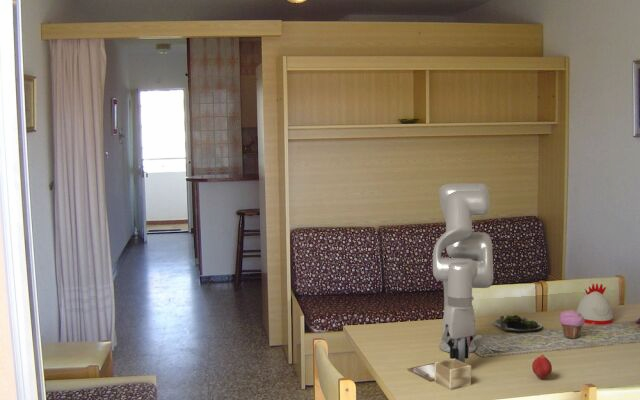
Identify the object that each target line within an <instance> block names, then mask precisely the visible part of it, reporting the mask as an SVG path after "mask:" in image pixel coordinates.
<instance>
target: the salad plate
mask: <svg viewBox="0 0 640 400" xmlns="http://www.w3.org/2000/svg"><path fill="white" fill-rule="evenodd" d="M493 324H494V325H495V326H496V327H497V328H499V329H501V330H502V331H504V332H506V333H511V334H532V333H538V332H540V331H541V330H542V329H543V327H544V326H543V324H541V323H539V322H536V321H534V320H532V319H531V318H527V317H521V316H519V315H517V314H514V315H510V314H507V315H506V316H504V315H501V316H499V319H495V320H493Z"/></svg>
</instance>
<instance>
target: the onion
mask: <svg viewBox="0 0 640 400" xmlns="http://www.w3.org/2000/svg"><path fill="white" fill-rule="evenodd" d="M531 367H532V368H531V369H532V372H533V374H534V375H535V376H537V378H539V379H540V380H544V379H546V378H547V377H548V376H550V375H551V373H552V371H553V367H552V363H551V361H550V360H549V359H548V358H547V357H545V354H544V353H542V354H541V355H540V356H537V357H536V358H535V359H534V360H533V362H532V366H531Z"/></svg>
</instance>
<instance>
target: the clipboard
mask: <svg viewBox="0 0 640 400" xmlns="http://www.w3.org/2000/svg"><path fill="white" fill-rule="evenodd" d="M445 360H446V359H445ZM445 360H443V361H445ZM441 361H442V360H441ZM441 361H439V362H441ZM436 362H437V361H436ZM436 362H431V363H427V364H422V365H417V366H412V367H409V368H407V371H409V372H411V373H412V374H414V375H416V376H418V377H420V378H423V379H424V380H427V381H428V382H430V383H431V382H435V363H436Z"/></svg>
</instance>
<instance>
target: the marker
mask: <svg viewBox="0 0 640 400" xmlns="http://www.w3.org/2000/svg"><path fill="white" fill-rule="evenodd" d="M456 348H458V360H459V361H461V362H463V363H466V358H465V337H462V338H459V339H458V340H457V347H456Z"/></svg>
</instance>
